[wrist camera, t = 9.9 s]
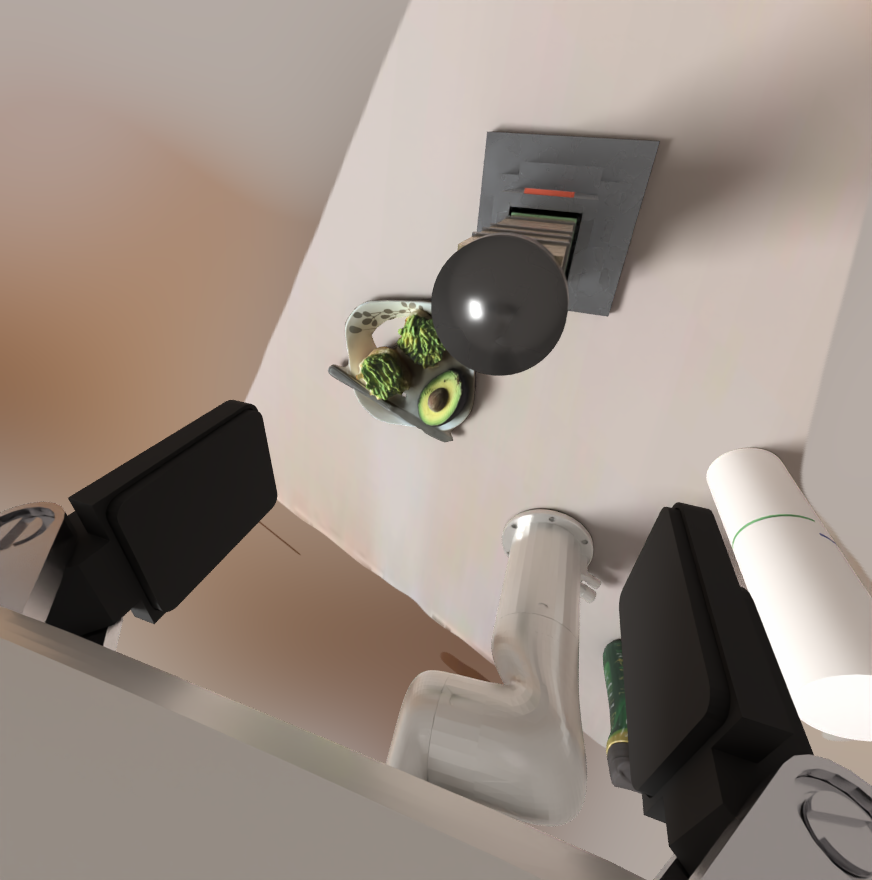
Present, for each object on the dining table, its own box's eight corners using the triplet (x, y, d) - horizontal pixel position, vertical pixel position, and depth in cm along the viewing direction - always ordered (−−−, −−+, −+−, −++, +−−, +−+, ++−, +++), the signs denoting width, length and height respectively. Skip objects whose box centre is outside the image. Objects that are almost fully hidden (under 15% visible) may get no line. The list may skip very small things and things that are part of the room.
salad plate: (342, 418, 60) (326, 434, 56) (324, 289, 50) (302, 299, 46) (474, 439, 55) (465, 458, 51) (481, 301, 45) (472, 313, 41)
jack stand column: (587, 204, 31) (584, 245, 14) (570, 276, 34) (550, 386, 17) (519, 198, 32) (435, 228, 15) (508, 268, 35) (427, 363, 18)
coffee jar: (599, 661, 70) (602, 793, 55) (606, 633, 66) (611, 767, 51) (663, 676, 67) (684, 819, 52) (674, 648, 63) (700, 794, 48)
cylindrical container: (741, 510, 48) (849, 750, 28) (691, 477, 48) (764, 696, 28) (801, 472, 44) (979, 724, 24) (747, 436, 44) (879, 659, 24)
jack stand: (658, 142, 34) (688, 128, 23) (607, 313, 41) (613, 361, 31) (489, 132, 37) (449, 116, 26) (472, 294, 44) (436, 331, 34)
